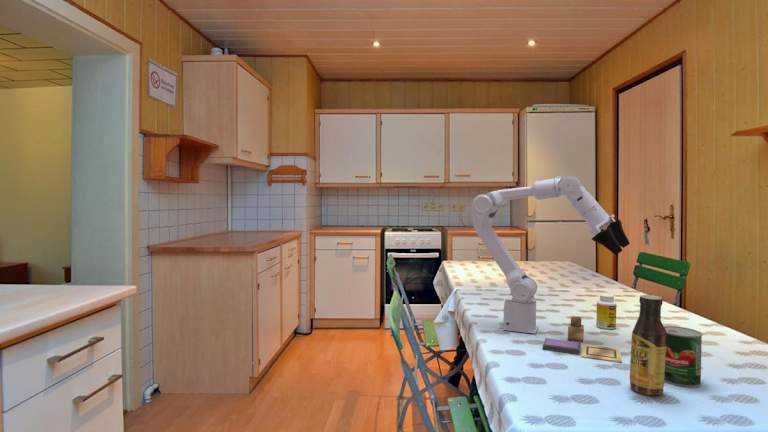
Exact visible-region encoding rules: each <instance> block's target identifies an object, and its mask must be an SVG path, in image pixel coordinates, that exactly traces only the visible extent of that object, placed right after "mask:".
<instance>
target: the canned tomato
mask: <svg viewBox="0 0 768 432" xmlns="http://www.w3.org/2000/svg"><path fill="white" fill-rule="evenodd" d="M663 326H664V325H663ZM664 328H665V330H666V359H665V377H664V383H668V384H670V385H674V386H678V387H684V388H697V387H700V386H701V385H702V343H703V341H702V339H703V338H702V336H703V333H702V332H701V331H699V330H696V329H692V328H689V327H684V326H683V327H682V326H677V325H674V326H673V325H665V326H664Z"/></svg>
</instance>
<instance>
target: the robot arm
mask: <svg viewBox="0 0 768 432" xmlns="http://www.w3.org/2000/svg"><path fill="white" fill-rule="evenodd" d="M561 196H565V197H566V198H567V199H568V200H569V202H570V203H571V205H572V206H573V208H574V209H575V210H576V212H577V213H578V214H579V215H580V216H581V217H582V219H583V220H584V221H585V223H586V224H587V225H588V226H589V227H590V228H591V229H589V232H590V233H591V234H592V235H593V237H592V238H591V240H592V241H593V242H595V243H597V244H600V245H602V246H603V247H604V248H605V249H607V250H609V252H610V253H612V254H613V255H615V256H617V255H618V254H620V253H621V252H623V248H625V247H627V246H629V245H630V241H629V238H628V237H627V235H626V233H625V230H624V228H623V223H622V220H621V219H618V220H615V214H611V215H609V214H608V213H607V212H606V210H604V209H603V207H602V206H601V204H599V202H598V201H597V200H596V199H595V198H594V197H593V195H592V194H591V193H590V192H589V191H587V189H586V188H585V187H584V186H583V185H582V183H581V181H580V180H579V178H577V177H575V176H573V175H565V176H563V177H562V176H561V175H557V176H556V177H553V178H548V179H545V178H544V177H541V178H538V180H535V181H534V182H533V184H531V185H530V186H523V187H513V188H504V189H498V190H494V191H490V192H486V194H479V195H477V196H476V197H475V198H474V199H473V202H472V203H471V207H470V210H471V213H472V224H473V229H474V231H475V233H476V235H477V236H478V238H479V239H480V240H481V242H482V243H483V245H484V247H485V248H486V249H487V251H488V252H489V254H490V255H491V257H492V258H493V260H494V261H495V262H496V264H497V266H498V267H499V268H500V269H499V270H501V272H502V273H503V274H504V276H505V280H506V283H507V285H508V287H509V291H510V295H511V299H508V298H507V299H505V301H504V304H503V328H502V329H503V331H510V332H517V333H526V334H537V332H538V330H539V327H540V326H539V325H537V299H536V298H535V294H536V293H537V291H538V284H537V283H536V281H535V279H534V278H532V277H530V276H528V275H527V272H525V270H523V269H522V268H521V267H520V265H519V264H518V263H517V262H516V260H515V259H514V258H513V256H512V254H511V253H510V251H509V250H508V249H507V247H506V245H505V243H503V241H502V240H501V238H500V237H499V235H498V233H497V232H496V231H495V230H494V228H493V227H492V224H493V220H494V217H495V215H496V214H497V213H498V211H499V209H500V206H503V205H505V204H506V203H507V201H510V200H512V201H513V200H517V199H518V200H519V199H523V198H530V197H534V199H536V200H537V201H539V200H547V199H555V198H560V197H561Z"/></svg>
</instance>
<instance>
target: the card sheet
mask: <svg viewBox="0 0 768 432" xmlns="http://www.w3.org/2000/svg"><path fill="white" fill-rule="evenodd" d="M581 349H582V350H581V358H584V359H591V360H599V361H604V362H605V361H606V362H613V363H619V364H620V363H621V364H622V363H623V361H622V354H621V348H618V347H611V346H610V347H609V346H602V345H596V344H595V345H593V344H588V343H587V344H586V343H582V347H581Z"/></svg>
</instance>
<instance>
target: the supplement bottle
mask: <svg viewBox="0 0 768 432" xmlns="http://www.w3.org/2000/svg"><path fill="white" fill-rule="evenodd" d="M614 297H615V296H614V295H613V294H611V293H600V294H599V300H597V301H596V327H598V328H600V329H603V330H614V329H616V327H617V302H616V301H615V298H614Z"/></svg>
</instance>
